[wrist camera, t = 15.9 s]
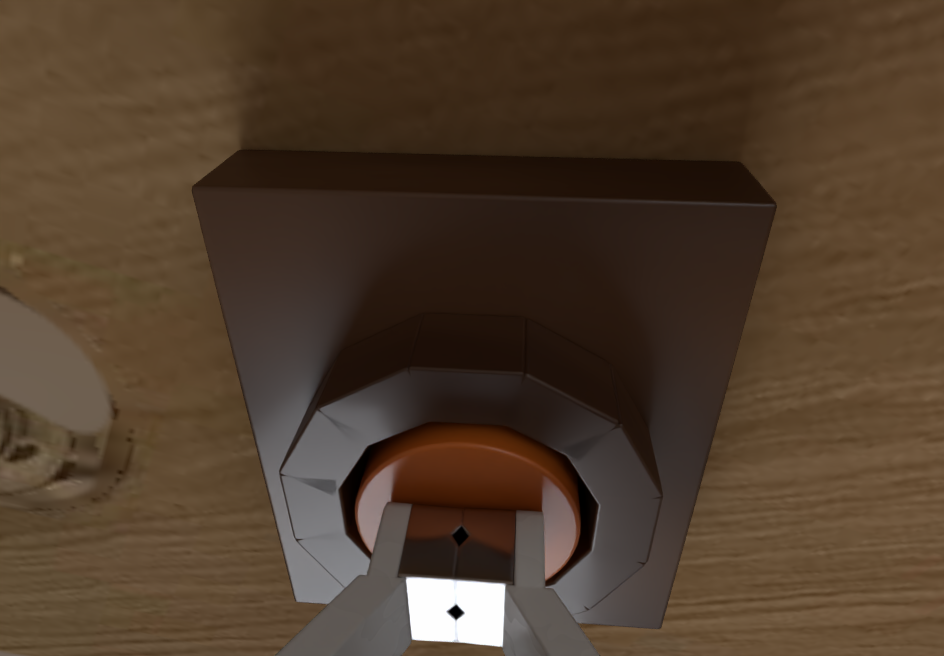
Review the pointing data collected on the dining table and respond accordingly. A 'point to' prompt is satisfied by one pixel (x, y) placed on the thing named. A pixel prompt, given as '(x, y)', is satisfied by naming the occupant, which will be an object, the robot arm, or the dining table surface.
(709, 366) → the button block
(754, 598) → the dining table surface
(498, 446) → the button
